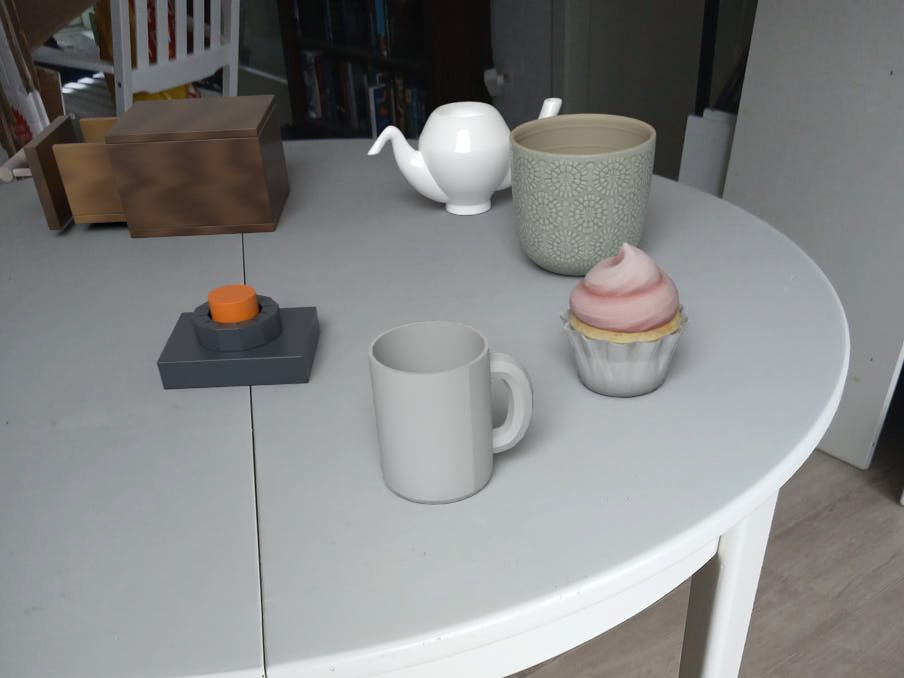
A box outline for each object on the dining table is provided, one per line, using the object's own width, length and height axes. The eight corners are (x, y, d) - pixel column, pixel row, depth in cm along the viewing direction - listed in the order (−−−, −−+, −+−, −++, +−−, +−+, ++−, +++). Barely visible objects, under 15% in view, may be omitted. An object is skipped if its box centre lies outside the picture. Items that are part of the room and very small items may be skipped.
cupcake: (565, 347, 77) (567, 216, 71) (686, 353, 76) (700, 219, 69) (549, 405, 71) (550, 266, 64) (681, 413, 69) (697, 271, 62)
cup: (376, 455, 66) (360, 328, 61) (520, 434, 68) (519, 309, 62) (391, 514, 61) (375, 382, 55) (547, 491, 62) (548, 359, 56)
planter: (534, 232, 96) (534, 110, 89) (660, 243, 93) (670, 116, 86) (492, 281, 88) (488, 150, 81) (628, 295, 84) (637, 159, 77)
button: (208, 327, 74) (203, 304, 73) (217, 307, 77) (212, 285, 76) (255, 324, 74) (251, 302, 73) (262, 305, 77) (258, 283, 76)
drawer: (8, 232, 100) (-21, 149, 95) (43, 195, 108) (18, 117, 103) (182, 224, 100) (162, 141, 94) (203, 187, 108) (186, 109, 103)
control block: (163, 389, 75) (149, 339, 72) (187, 337, 82) (176, 290, 79) (307, 383, 75) (299, 332, 72) (320, 331, 81) (312, 284, 79)
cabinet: (130, 238, 100) (103, 135, 93) (159, 197, 109) (135, 100, 103) (274, 231, 100) (256, 127, 93) (290, 190, 109) (274, 94, 103)
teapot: (366, 205, 104) (355, 108, 98) (546, 182, 108) (546, 87, 101) (383, 236, 97) (372, 133, 91) (575, 210, 101) (577, 110, 94)
